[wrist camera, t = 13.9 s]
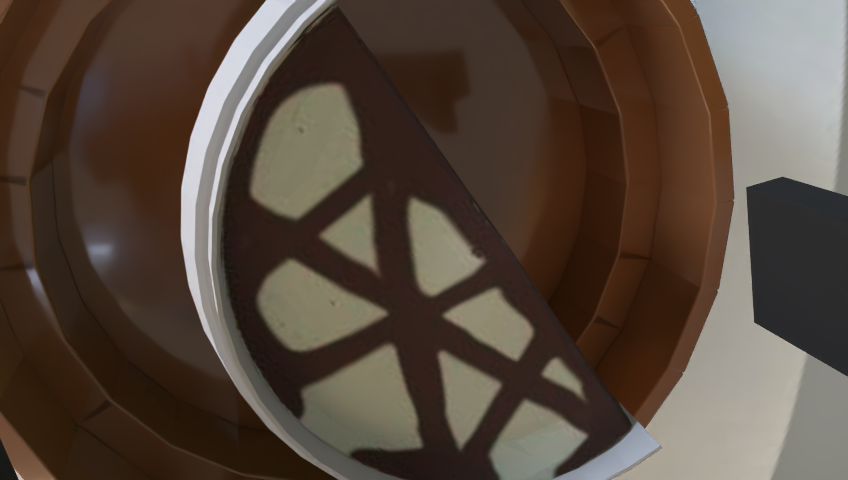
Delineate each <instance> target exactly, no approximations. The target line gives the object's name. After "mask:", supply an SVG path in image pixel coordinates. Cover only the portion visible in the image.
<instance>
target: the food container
mask: <svg viewBox="0 0 848 480" xmlns="http://www.w3.org/2000/svg"><path fill="white" fill-rule="evenodd" d="M336 1H337V0H266V1H265V2H264V4H263V5H262V6H261V7H260V9H259V10H258V11H257V12H256V14H255V15H254V16H253V17H252V19H251V20H250V21H249V22H248V24H247V25H246V26H245V27H244V29H243V30H242V31H241V33H240V34H239V35H238V36H237V38H236V39H235V40H234V42H233V44H232V46H231V47H230V49H229V51H228V53H227V55H226V56H225V58H224V60H223V62H222V64H221V65H220V67H219V69H218V71H217V73H216V74H215V76H214V78H213V80H212V82H211V83H210V85H209V87H208V90H207V93H206V95H205V98H204V101H203V104H202V106H201V109H200V112H199V115H198V118H197V120H196V123H195V126H194V129H193V131H192V134H191V137H190V143H189V148H188V154H187V159H186V165H185V171H184V176H183V182H182V187H181V242H182V248H183V254H184V260H185V266H186V272H187V279H188V285H189V288H190V291H191V294H192V297H193V300H194V303H195V306H196V308H197V311H198V314H199V317H200V320H201V323H202V326H203V329H204V331H205V333H206V335H207V336H208V338H209V340H210V342H211V344H212V345H213V347H214V349H215V351H216V353H217V354H218V356H219V358H220V360H221V361H222V363H223V365H224V367H225V369H226V370H227V372H228V374H229V375H230V377H231V379H232V380H233V382H234V384H235V385H236V387H237V389H238V390H239V392H240V394H241V395H242V396H243V397H244V398H245V400H246V401H247V402H248V403H249V405H250V406H251V407H252V408H253V410H254V411H255V412H256V413H257V415H258V416H259V417H260V418H261V420H262V421H263V422H264V423H265V425H266V426H267V427H268V428H269V429H270V430H271V431H272V432H273V433H275V434H276V435H277V436H278V437H279V438H280V439H281V440H283V441H284V442H285V443H286V444H287V445H288V446H289V447H291V448H292V449H293V450H294V451H295V452H296V453H297V454H299V455H300V456H301V457H302V458H304V459H306V460H307V461H309V462H311V463H312V464H314V465H315V466H317V467H319V468H320V469H322V470H324V471H325V472H327V473H329V474H330V475H332V476H333V477H335V478H337V479H339V480H611V479H613V478H615V477H617V476H619V475H621V474H623V473H625V472H627V471H629V470H631V469H632V468H634V467H635V466H637V465H638V464H639V463H641V462H642V461H644V460H645V459H647V458H648V457H650V456H651V455H653V454H654V453H656V452H657V451H659V450H660V449H661V448H662V447H661V445H660V444H659V443H658V442H657V441H656V440H655V439H654V438H653V437H652V436H651V435H650V434H649V433H648V432H647V431H646V430H645V428H644V427H643V426H642V425H641V424H640V423H639V422H638V421H637V420H636V419H635V418H634V417H633V416H632V415H631V414H630V413H629V412H628V411H627V410H626V409H625V408H624V407H623V406H622V404H621V403H620V402H619V401H618V400H617V399H616V398H615V397H614V396H613V395H612V394H611V393H610V392H609V391H608V389H607V388H606V387H605V385H604V384H603V382H602V381H601V380H600V378H599V377H598V376H597V374H596V373H595V371H594V370H593V368H592V367H591V365H590V364H589V363H588V361H587V360H586V358H585V357H584V355H583V354H582V352H581V351H580V349H579V348H578V347H577V345H576V344H575V342H574V341H573V339H572V338H571V336H570V335H569V334H568V332H567V331H566V329H565V328H564V326H563V325H562V324H561V322H560V321H559V319H558V318H557V317H556V315H555V314H554V312H553V311H552V309H551V308H550V307H549V305H548V304H547V302H546V301H545V299H544V298H543V296H542V295H541V293H540V292H539V290H538V289H537V287H536V286H535V285H534V283H533V282H532V280H531V279H530V277H529V276H528V274H527V273H526V271H525V270H524V268H523V267H522V265H521V264H520V262H519V261H518V259H517V258H516V256H515V255H514V253H513V252H512V250H511V249H510V247H509V246H508V245H507V243H506V242H505V241H504V239H503V238H502V236H501V235H500V234H499V232H498V231H497V230H496V228H495V227H494V225H493V224H492V223H491V221H490V220H489V218H488V217H487V216H486V214H485V213H484V212H483V210H482V209H481V207H480V206H479V205H478V203H477V202H476V201H475V199H474V198H473V196H472V195H471V194H470V192H469V191H468V189H467V188H466V187H465V185H464V184H463V182H462V181H461V179H460V178H459V176H458V175H457V174H456V172H455V171H454V169H453V168H452V166H451V165H450V164H449V162H448V161H447V159H446V158H445V156H444V155H443V153H442V152H441V151H440V149H439V148H438V146H437V145H436V143H435V142H434V140H433V139H432V138H431V136H430V135H429V133H428V132H427V130H426V129H425V128H424V126H423V125H422V123H421V122H420V120H419V119H418V118H417V116H416V115H415V113H414V112H413V111H412V109H411V108H410V106H409V105H408V103H407V102H406V101H405V99H404V98H403V96H402V95H401V93H400V92H399V91H398V89H397V88H396V86H395V85H394V83H393V82H392V81H391V79H390V78H389V76H388V75H387V73H386V72H385V71H384V69H383V68H382V66H381V65H380V64H379V62H378V61H377V59H376V58H375V57H374V55H373V54H372V52H371V51H370V50H369V48H368V47H367V45H366V44H365V43H364V41H363V40H362V39H361V37H360V36H359V34H358V33H357V32H356V30H355V29H354V27H353V26H352V25H351V23H350V22H349V21H348V19H347V18H346V16H345V15H344V14H343V12H342V11H341V9H340V8H339V7H338V5H336V6H333V5H334V4H335V3H336Z"/></svg>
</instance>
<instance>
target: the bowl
mask: <svg viewBox="0 0 848 480" xmlns="http://www.w3.org/2000/svg"><path fill="white" fill-rule="evenodd" d="M265 1H266V0H0V439H1V441H2V443H3V446H4V448H5V450H6V452H7V455H8V457H9V459H10V461H11V464H12V466H13V468H14V469H15V470H16V471H17V472H18V473H19V474H20V476H21V477H22V478H23V479H24V480H339V479H337V478H335V477H333V476H332V475H330V474H329V473H327V472H325V471H324V470H322V469H320V468H319V467H317V466H315V465H314V464H312V463H311V462H309V461H307V460H306V459H304V458H302V457H301V456H300V455H299V454H297V453H296V452H295V451H294V450H293V449H292V448H291V447H289V446H288V445H287V444H286V443H285V442H284V441H283V440H281V439H280V438H279V437H278V436H277V435H276V434H275V433H273V432H272V431H271V430H270V429H269V428H268V427H267V426H266V425H265V423H264V422H263V421H262V420H261V418H260V417H259V416H258V415H257V413H256V412H255V411H254V410H253V408H252V407H251V406H250V405H249V403H248V402H247V401H246V400H245V398H244V397H243V396H242V395H241V394H240V392H239V390H238V389H237V387H236V385H235V384H234V382H233V380H232V379H231V377H230V375H229V374H228V372H227V370H226V369H225V367H224V365H223V363H222V361H221V360H220V358H219V356H218V354H217V353H216V351H215V349H214V347H213V345H212V344H211V342H210V340H209V338H208V336H207V335H206V333H205V331H204V329H203V326H202V323H201V320H200V317H199V314H198V311H197V308H196V306H195V303H194V300H193V297H192V294H191V291H190V288H189V285H188V279H187V272H186V266H185V260H184V254H183V248H182V242H181V187H182V182H183V176H184V171H185V165H186V159H187V154H188V148H189V143H190V137H191V134H192V131H193V129H194V126H195V123H196V120H197V118H198V115H199V112H200V109H201V106H202V104H203V101H204V98H205V95H206V93H207V90H208V87H209V85H210V83H211V82H212V80H213V78H214V76H215V74H216V73H217V71H218V69H219V67H220V65H221V64H222V62H223V60H224V58H225V56H226V55H227V53H228V51H229V49H230V47H231V46H232V44H233V42H234V40H235V39H236V38H237V36H238V35H239V34H240V33H241V31H242V30H243V29H244V27H245V26H246V25H247V24H248V22H249V21H250V20H251V19H252V17H253V16H254V15H255V14H256V12H257V11H258V10H259V9H260V7H261V6H262V5H263V4H264V2H265ZM336 5H338V7H339V8H340V9H341V11H342V12H343V14H344V15H345V16H346V18H347V19H348V21H349V22H350V23H351V25H352V26H353V27H354V29H355V30H356V32H357V33H358V34H359V36H360V37H361V39H362V40H363V41H364V43H365V44H366V45H367V47H368V48H369V50H370V51H371V52H372V54H373V55H374V57H375V58H376V59H377V61H378V62H379V64H380V65H381V66H382V68H383V69H384V71H385V72H386V73H387V75H388V76H389V78H390V79H391V81H392V82H393V83H394V85H395V86H396V88H397V89H398V91H399V92H400V93H401V95H402V96H403V98H404V99H405V101H406V102H407V103H408V105H409V106H410V108H411V109H412V111H413V112H414V113H415V115H416V116H417V118H418V119H419V120H420V122H421V123H422V125H423V126H424V128H425V129H426V130H427V132H428V133H429V135H430V136H431V138H432V139H433V140H434V142H435V143H436V145H437V146H438V148H439V149H440V151H441V152H442V153H443V155H444V156H445V158H446V159H447V161H448V162H449V164H450V165H451V166H452V168H453V169H454V171H455V172H456V174H457V175H458V176H459V178H460V179H461V181H462V182H463V184H464V185H465V187H466V188H467V189H468V191H469V192H470V194H471V195H472V196H473V198H474V199H475V201H476V202H477V203H478V205H479V206H480V207H481V209H482V210H483V212H484V213H485V214H486V216H487V217H488V218H489V220H490V221H491V223H492V224H493V225H494V227H495V228H496V230H497V231H498V232H499V234H500V235H501V236H502V238H503V239H504V241H505V242H506V243H507V245H508V246H509V247H510V249H511V250H512V252H513V253H514V255H515V256H516V258H517V259H518V261H519V262H520V264H521V265H522V267H523V268H524V270H525V271H526V273H527V274H528V276H529V277H530V279H531V280H532V282H533V283H534V285H535V286H536V287H537V289H538V290H539V292H540V293H541V295H542V296H543V298H544V299H545V301H546V302H547V304H548V305H549V307H550V308H551V309H552V311H553V312H554V314H555V315H556V317H557V318H558V319H559V321H560V322H561V324H562V325H563V326H564V328H565V329H566V331H567V332H568V334H569V335H570V336H571V338H572V339H573V341H574V342H575V344H576V345H577V347H578V348H579V349H580V351H581V352H582V354H583V355H584V357H585V358H586V360H587V361H588V363H589V364H590V365H591V367H592V368H593V370H594V371H595V373H596V374H597V376H598V377H599V378H600V380H601V381H602V382H603V384H604V385H605V387H606V388H607V389H608V391H609V392H610V393H611V394H612V395H613V396H614V397H615V398H616V399H617V400H618V401H619V402H620V403H621V404H622V406H623V407H624V408H625V409H626V410H627V411H628V412H629V413H630V414H631V415H632V416H633V417H634V418H635V419H636V420H637V421H638V422H639V423H640V424H641V425H642V426H643V427H644V428H646V426H647V425H648V423H649V422H650V421H651V419H652V418H653V416H654V415H655V414H656V412H657V411H658V409H659V408H660V406H661V405H662V404H663V402H664V401H665V399H666V398H667V396H668V395H669V394H670V392H671V391H672V389H673V388H674V386H675V385H676V384H677V382H678V381H679V379H680V378H681V377H682V375H683V374H682V372H684V371H685V369H686V367H687V364H688V362H689V360H690V357H691V355H692V352H693V350H694V348H695V345H696V343H697V341H698V338H699V336H700V333H701V331H702V329H703V326H704V324H705V322H706V319H707V317H708V314H709V312H710V310H711V307H712V305H713V302H714V300H715V298H716V295H717V293H718V291H717V290H718V289H719V285H720V279H721V274H722V268H723V262H724V256H725V251H726V245H727V239H728V234H729V228H730V222H731V216H732V211H733V205H734V201H733V200H734V185H733V169H732V154H731V138H730V123H729V108H728V107H727V106H728V103H727V100H726V97H725V94H724V91H723V88H722V85H721V82H720V79H719V76H718V72H717V69H716V66H715V63H714V60H713V57H712V54H711V51H710V48H709V45H708V42H707V39H706V36H705V33H704V30H703V27H702V24H701V20H700V17H699V15H698V14H697V11H696V9H695V8H694V6H693V5H692V3H691V2H690V0H337V1H336V3H335V4H334V5H333V6H336Z"/></svg>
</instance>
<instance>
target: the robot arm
mask: <svg viewBox="0 0 848 480" xmlns="http://www.w3.org/2000/svg"><path fill="white" fill-rule="evenodd" d="M746 191H747V208H748V225H749V241H750V258H751V275H752V292H753V309H754V322H755V323H756V324H758V325H760V326H761V327H763V328H765V329H767V330H768V331H770V332H772V333H774V334H775V335H777V336H779V337H780V338H782V339H784V340H786V341H787V342H789V343H791V344H793V345H794V346H796V347H798V348H799V349H801V350H803V351H805V352H806V353H808V354H810V355H812V356H813V357H815V358H817V359H818V360H820V361H822V362H824V363H825V364H827V365H829V366H831V367H832V368H834V369H836V370H838V371H839V372H841V373H843V374H844V375H846V376H848V196H845V195H842V194H839V193H835V192H832V191H829V190H825V189H822V188H819V187H815V186H812V185H808V184H805V183H802V182H798V181H795V180H792V179H788V178H785V177H780V178H777V179H773V180H770V181H766V182H763V183H759V184H756V185H753V186H749V187H746ZM0 480H19V479H18V477H17V475H16V473H15V470H14V468H13V466H12V464H11V461H10V459H9V457H8V455H7V452H6V450H5V448H4V446H3V443H2V441H1V439H0Z"/></svg>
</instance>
